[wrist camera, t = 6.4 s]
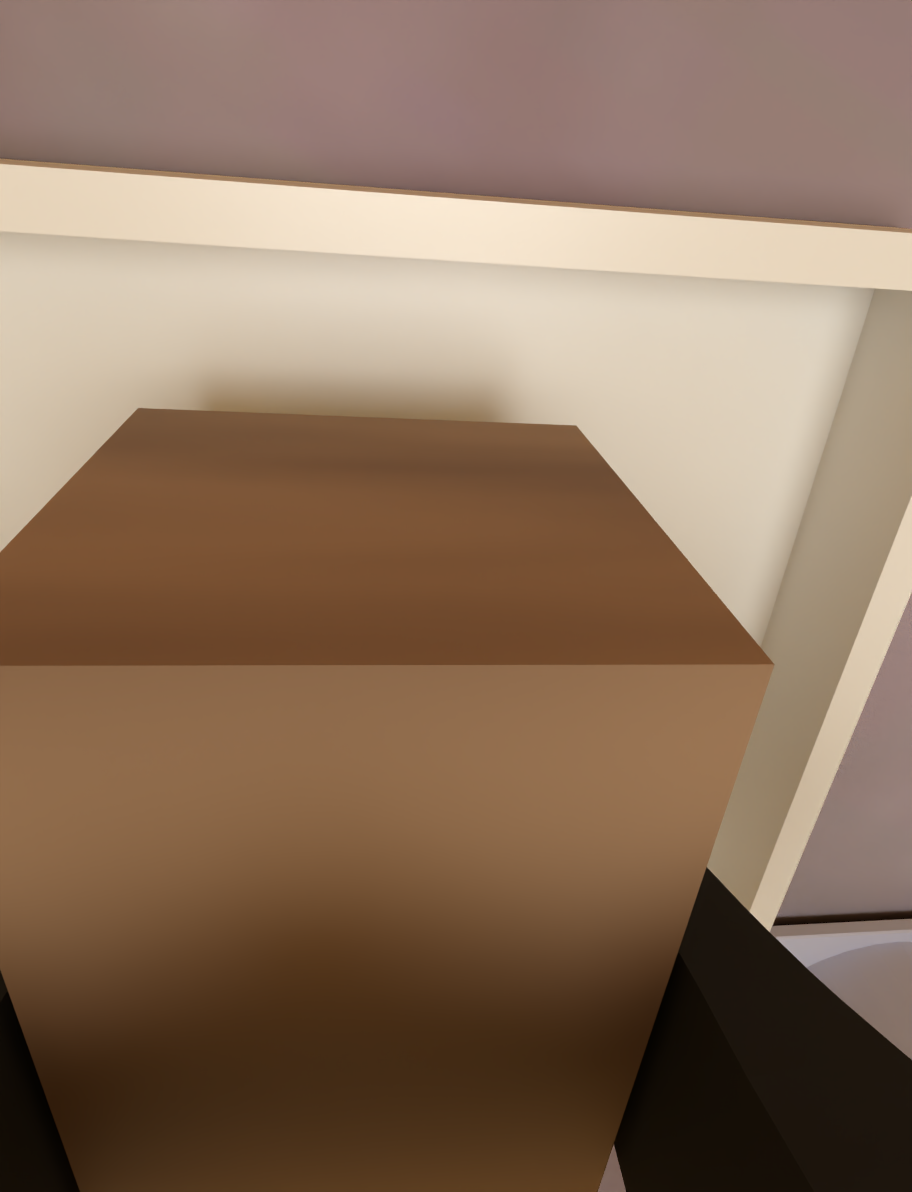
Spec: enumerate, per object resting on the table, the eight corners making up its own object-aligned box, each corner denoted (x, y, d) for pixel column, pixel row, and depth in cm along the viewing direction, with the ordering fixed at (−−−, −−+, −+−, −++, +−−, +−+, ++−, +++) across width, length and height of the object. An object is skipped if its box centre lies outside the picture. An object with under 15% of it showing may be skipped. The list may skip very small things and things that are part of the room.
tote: (692, 868, 18) (747, 984, 16) (-15, 897, 16) (-87, 1036, 14) (898, 227, 11) (1056, 244, 9) (-282, 137, 9) (-529, 124, 7)
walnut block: (501, 922, 13) (566, 1284, 9) (210, 935, 13) (130, 1331, 8) (575, 424, 9) (776, 664, 5) (138, 408, 8) (-110, 665, 4)
